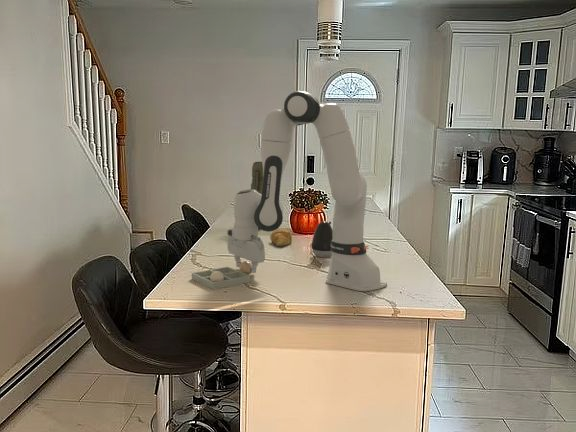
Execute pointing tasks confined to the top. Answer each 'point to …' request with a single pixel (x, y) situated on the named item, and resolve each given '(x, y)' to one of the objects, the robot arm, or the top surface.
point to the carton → (230, 278)
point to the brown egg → (245, 267)
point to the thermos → (257, 177)
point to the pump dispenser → (322, 240)
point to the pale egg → (216, 276)
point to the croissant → (281, 237)
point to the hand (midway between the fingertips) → (245, 269)
